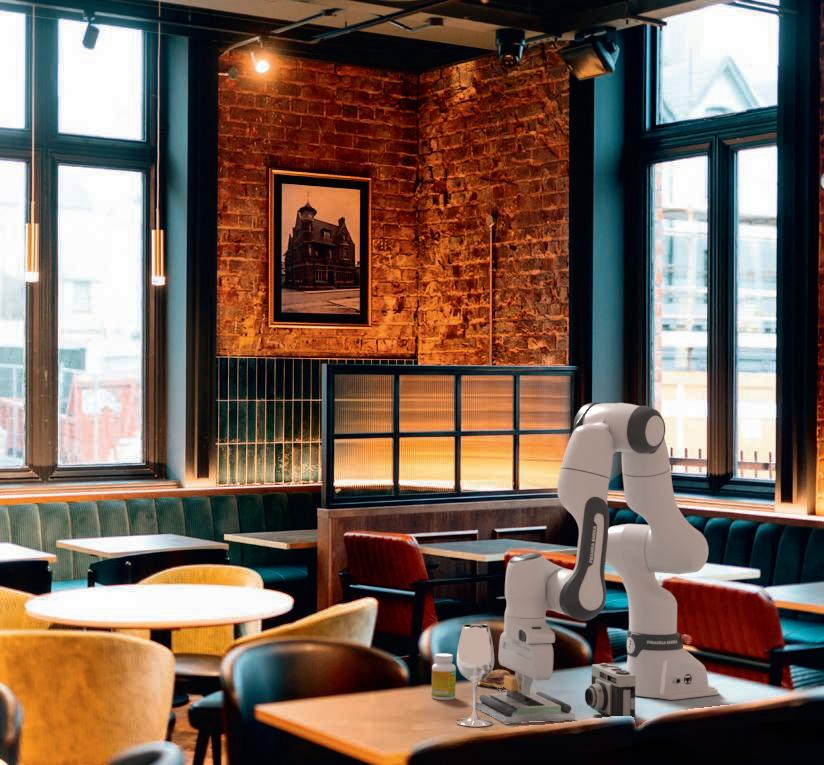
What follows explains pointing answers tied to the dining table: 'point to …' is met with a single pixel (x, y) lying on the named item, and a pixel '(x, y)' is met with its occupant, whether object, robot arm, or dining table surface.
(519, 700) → the toggle
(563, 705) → the dark grey slide rails
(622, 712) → the camera
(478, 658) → the wineglass
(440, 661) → the supplement bottle
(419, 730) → the dining table surface
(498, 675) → the hamburger
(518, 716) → the panel
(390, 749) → the dining table surface
